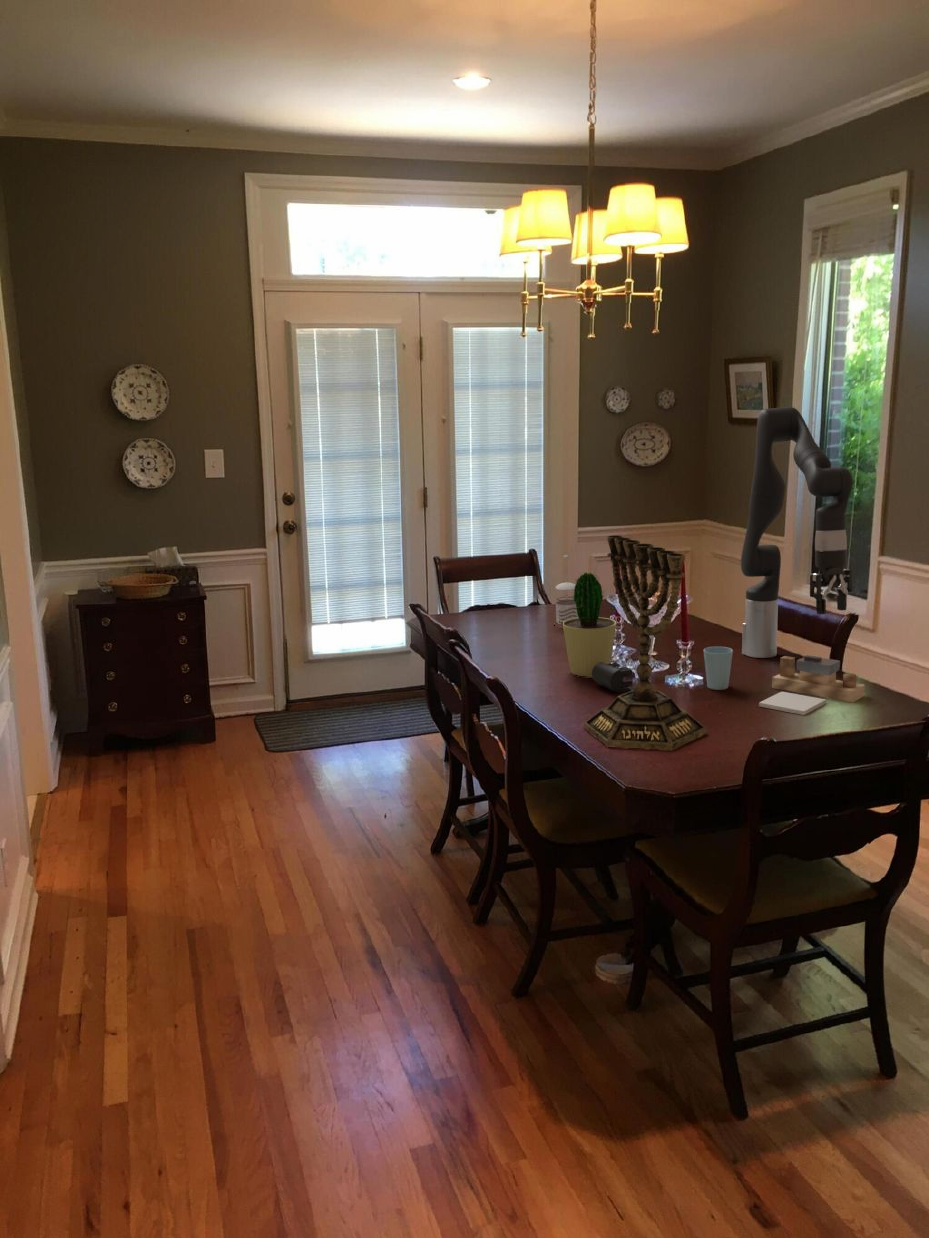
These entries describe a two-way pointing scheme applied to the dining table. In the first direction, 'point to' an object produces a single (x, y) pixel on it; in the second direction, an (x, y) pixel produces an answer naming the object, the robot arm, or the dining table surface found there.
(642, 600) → the menorah
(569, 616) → the french press
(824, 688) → the plane body
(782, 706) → the bench mat
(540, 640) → the dining table surface
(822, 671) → the lever cap
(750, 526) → the robot arm
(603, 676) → the end cap
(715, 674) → the cup
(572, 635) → the potted cactus
